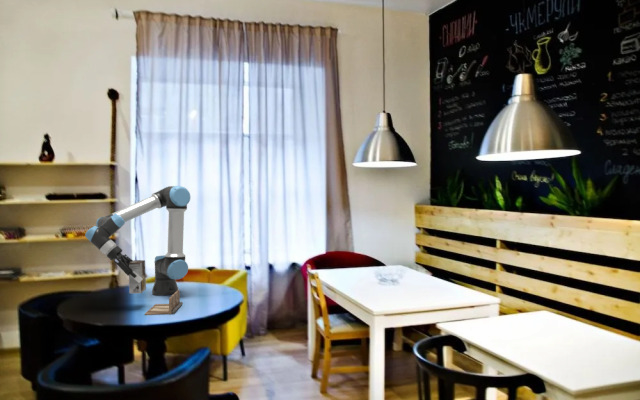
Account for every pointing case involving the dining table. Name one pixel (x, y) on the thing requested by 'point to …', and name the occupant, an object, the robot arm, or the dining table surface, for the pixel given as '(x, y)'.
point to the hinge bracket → (166, 306)
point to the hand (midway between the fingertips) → (143, 279)
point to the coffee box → (139, 268)
